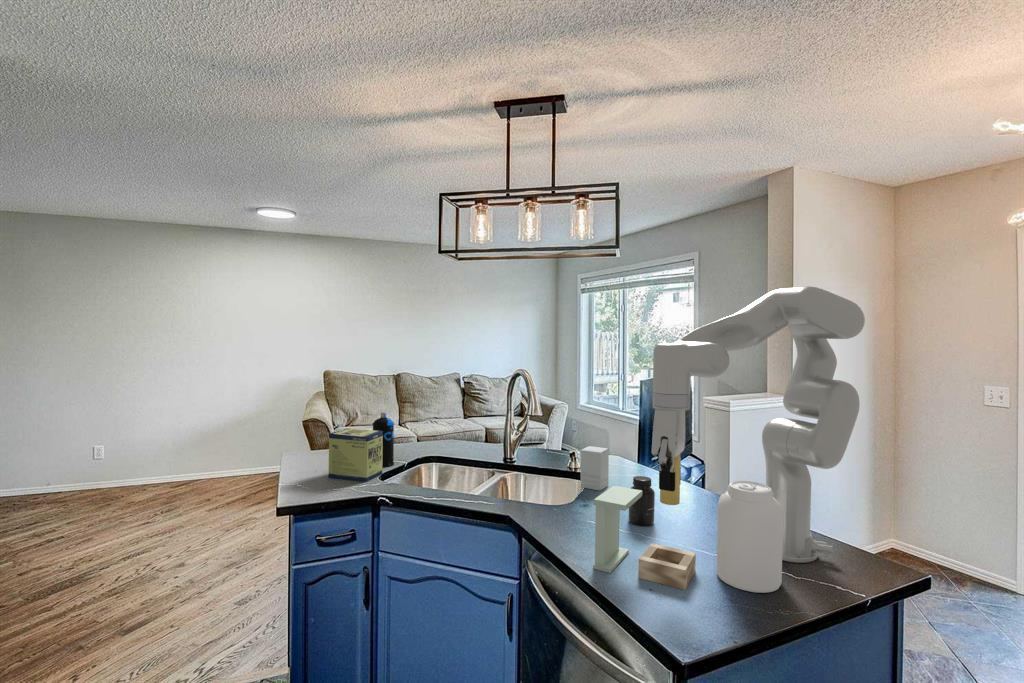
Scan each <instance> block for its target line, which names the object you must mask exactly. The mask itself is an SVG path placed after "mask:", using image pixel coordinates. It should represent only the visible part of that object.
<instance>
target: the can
mask: <svg viewBox="0 0 1024 683" xmlns="http://www.w3.org/2000/svg"><path fill="white" fill-rule="evenodd" d="M716 536H717V537H716V574H717V576H718V578H719V579H720V580H721V581H722V582H724V583H725V584H726V585H729V586H731V587H733V588H735V589H739V590H743V591H747V592H750V593H751V592H752V593H763V594H765V593H772V592H775V591H777V590H779V588H780V587H781V585H782V584H783V582H782V581H783V580H782V579H783V576H782V575H783V560H782V548H783V511H782V508H781V505H780V503H779V502H778V501H777V500H776V499H775V498H774V497H773V492H772V489H771V488H770V487H769V486H766V484H764V483H759V482H756V481H748V480H736V481H732V482H730V483H728V486H727V491H725V492H724V493H723V494H722V495H720V496H719V498H718V502H717V530H716Z"/></svg>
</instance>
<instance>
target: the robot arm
mask: <svg viewBox="0 0 1024 683" xmlns="http://www.w3.org/2000/svg"><path fill="white" fill-rule="evenodd" d="M865 321H866V319H865V314H864V312H863V310H862V308H861V307H860V306H859V305H858V304H857V303H855V302H854V301H852V300H850V299H848V298H845V297H842V296H841V295H838V294H835V293H833V292H831V291H828V290H825V289H824V288H820V287H816V286H810V285H808V286H795V287H782V288H778V289H774V290H771V291H769V292H767V293H765V294H763V295H762V296H761V297H759V298H758V299H756V300H754V301H753V302H752V303H750V304H748V305H747V306H746V307H744V308H742V309H740V310H739V311H737V312H735V313H734V314H731V315H729V316H726V317H725V316H724V317H723V318H720V319H718V320H716V321H712V322H710V323H708V324H704V325H702V326H700V327H697V328H695V329H694V330H693V329H692V331H690V332H688V333H686V334H685V335H683V336H682V337H680V338H678V340H676V341H675V342H661V343H657V344H655V346H654V347H653V355H652V356H653V357H652V361H653V362H652V364H653V366H652V367H653V368H652V369H653V371H652V408H653V409H655V410H654V417H653V426H652V438H651V440H652V441H651V442H652V443H651V454H652V455H653V456H654V457H656V456H659V458H658V463H659V465H658V466H659V467H658V469H659V470H658V489H659V491H660V490H666V491H672V492H673V491H675V472H674V458H675V457H677V456H678V455H679V454H680V455H681V454H682V453H683V452H684V450H685V447H686V411H689V410H690V409H691V400H690V399H691V377H699V378H709V379H712V378H716V377H719V376H721V375H723V374H724V373H725V372H726V371H727V370H728V368H729V365H730V356H729V352H732V351H738V350H744V349H749V348H752V347H756V346H758V345H760V344H762V343H764V342H765V341H766V340H767V339H769V338H770V337H772V336H773V335H775V334H776V333H778V332H779V331H781V330H782V329H784V328H785V327H788V330H789V332H790V334H791V336H792V339H793V341H794V344H795V346H796V347H795V348H796V360H795V362H794V363H795V364H794V366H793V369H792V371H791V374H790V377H789V380H788V382H787V385H786V388H785V392H784V394H783V399H782V403H783V406H784V408H785V410H786V411H788V412H789V413H791V414H792V415H795V416H799V417H805V418H809V419H815V420H817V422H816V423H814V422H810V421H805V420H800V419H795V418H788V417H777V418H774V419H771V420H769V421H768V422H767V423H765V425H764V427H763V428H762V432H761V443H762V450H763V454H764V459H765V460H764V461H765V485H766V486H769V487H770V488H771V489H772V492H773V497H774V498H775V499H776V500H777V501H778V502H779V503H780V505H781V508H782V511H783V548H782V561H783V562H789V563H798V564H799V563H800V564H801V563H803V564H805V563H812V562H814V561H815V560H817V559H818V552H819V553H823V554H826V555H831V556H833V551H834V550H833V549H834V547H833V545H828V544H827V542H825V541H821V540H820V541H819V540H815V539H814V538H812V537H813V535H812V534H813V533H811V513H812V512H811V510H812V508H811V505H812V476H811V473H810V471H809V469H808V466H810V467H813V468H816V469H822V470H828V469H829V470H830V469H833V468H835V467H836V466H838V465H839V464H840V462H841V461H842V460H843V457H844V456H845V453H846V450H847V448H848V445H849V442H850V439H851V436H852V433H853V430H854V428H855V425H856V422H857V419H858V415H859V412H860V404H861V403H860V395H859V393H858V390H857V389H856V387H854V386H853V384H850V383H849V382H847V381H844V380H840V379H834V376H835V372H836V370H837V369H836V368H837V365H838V362H837V361H838V359H837V356H836V354H835V351H834V349H833V347H832V345H831V344H830V343H829V341H828V340H849V339H852V338H854V337H856V336H858V335H859V334H860V333H861V332H862V330H863V329H864V326H865V324H866V323H865ZM671 452H672V453H671ZM667 453H668V454H671V457H670V456H667ZM667 459H668V460H671V461H670V462H669V461H667ZM681 459H682V458H681V457H680V465H682V464H681V463H682V462H681V461H682V460H681ZM681 469H682V468H681V466H680V481H681V480H682V479H681V475H682V474H681V472H682V470H681Z"/></svg>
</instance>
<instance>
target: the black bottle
mask: <svg viewBox="0 0 1024 683" xmlns="http://www.w3.org/2000/svg"><path fill="white" fill-rule="evenodd" d="M394 428H395V421H393V420H392V419H390V418H388V417H387V412H386V411H381V412H380V417H379V418H377V419H375V420H374V421H373V422H372V430H375V431H383V451H382V468H389V467H392V466H394V465H395V462H394V453H395V452H394V450H395V449H394V447H395V446H394V444H395V443H394V440H395V439H394V437H395V434H394V433H395V432H394V430H395V429H394Z"/></svg>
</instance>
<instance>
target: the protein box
mask: <svg viewBox="0 0 1024 683" xmlns="http://www.w3.org/2000/svg"><path fill="white" fill-rule="evenodd" d="M382 451H383V431H375V430H373V429H372V430H371V429H362V428H361V429H357V428H350V427H349V428H344V429H340V430H337V431H333V432H330V433H328V478H329V479H337V480H346V481H348V480H349V481H355V482H356V481H357V482H364V483H367V482H369V481H371V480H373V479H375V478H377V477H379V476H381V475H383V467H382Z"/></svg>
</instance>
